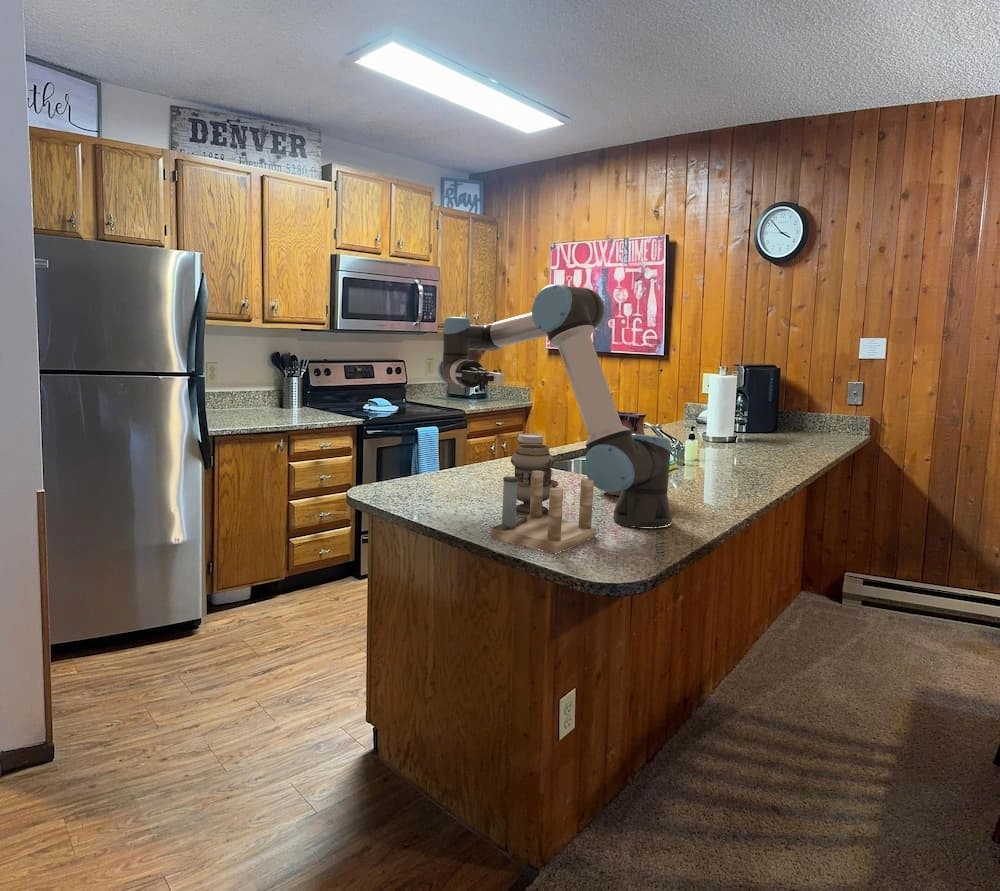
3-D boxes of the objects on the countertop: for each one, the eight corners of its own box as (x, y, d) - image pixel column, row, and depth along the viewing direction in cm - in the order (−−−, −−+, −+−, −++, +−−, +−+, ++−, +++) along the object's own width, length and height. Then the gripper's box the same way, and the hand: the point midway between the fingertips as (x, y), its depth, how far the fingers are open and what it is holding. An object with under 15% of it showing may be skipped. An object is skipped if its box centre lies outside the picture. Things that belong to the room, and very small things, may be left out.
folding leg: (517, 517, 174) (519, 470, 172) (530, 519, 173) (532, 472, 171) (498, 528, 164) (500, 478, 163) (512, 530, 163) (514, 480, 161)
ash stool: (595, 537, 170) (599, 480, 168) (556, 554, 156) (559, 491, 154) (532, 523, 180) (535, 469, 178) (490, 538, 166) (492, 479, 164)
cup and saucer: (521, 483, 230) (522, 464, 229) (558, 485, 229) (559, 466, 228) (518, 490, 218) (519, 471, 217) (557, 493, 217) (558, 473, 216)
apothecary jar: (501, 506, 197) (504, 442, 194) (540, 504, 201) (543, 441, 198) (519, 517, 186) (522, 449, 183) (560, 514, 190) (564, 448, 188)
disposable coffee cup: (548, 468, 256) (549, 436, 254) (530, 471, 249) (532, 438, 247) (528, 464, 262) (529, 432, 260) (510, 467, 255) (512, 434, 253)
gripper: (488, 386, 203) (524, 394, 182) (445, 386, 198) (477, 394, 176) (489, 360, 202) (525, 364, 181) (445, 359, 196) (478, 363, 175)
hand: (501, 379), depth 179 cm, fingers closed
